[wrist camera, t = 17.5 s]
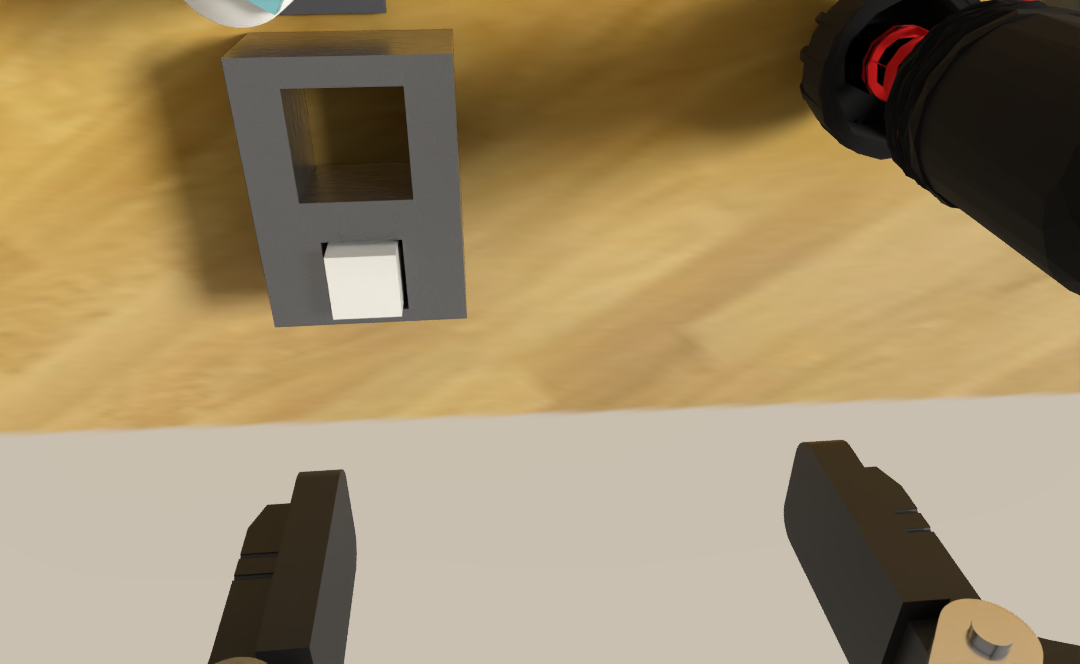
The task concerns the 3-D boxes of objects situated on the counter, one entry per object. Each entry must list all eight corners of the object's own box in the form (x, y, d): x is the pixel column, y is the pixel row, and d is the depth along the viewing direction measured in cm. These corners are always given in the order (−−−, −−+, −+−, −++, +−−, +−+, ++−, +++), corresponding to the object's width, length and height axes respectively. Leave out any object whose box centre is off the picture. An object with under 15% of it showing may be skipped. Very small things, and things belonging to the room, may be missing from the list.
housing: (247, 32, 43) (221, 58, 38) (452, 29, 44) (452, 53, 39) (292, 278, 51) (274, 327, 46) (465, 271, 52) (466, 318, 47)
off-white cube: (335, 220, 47) (323, 258, 43) (400, 218, 47) (395, 255, 43) (343, 278, 49) (333, 319, 45) (406, 275, 49) (402, 316, 45)
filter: (744, 124, 49) (1068, 435, 23) (760, -40, 44) (1191, 125, 18) (959, 110, 49) (1499, 394, 24) (998, -53, 45) (1724, 87, 19)
